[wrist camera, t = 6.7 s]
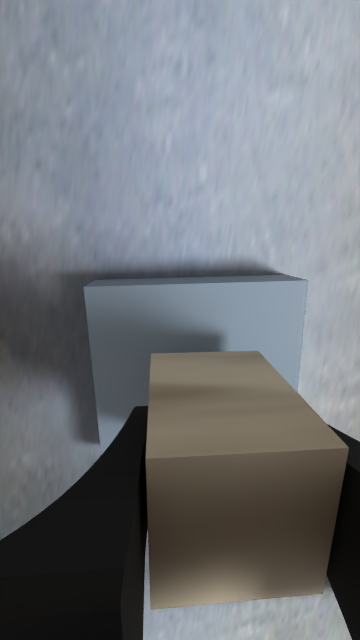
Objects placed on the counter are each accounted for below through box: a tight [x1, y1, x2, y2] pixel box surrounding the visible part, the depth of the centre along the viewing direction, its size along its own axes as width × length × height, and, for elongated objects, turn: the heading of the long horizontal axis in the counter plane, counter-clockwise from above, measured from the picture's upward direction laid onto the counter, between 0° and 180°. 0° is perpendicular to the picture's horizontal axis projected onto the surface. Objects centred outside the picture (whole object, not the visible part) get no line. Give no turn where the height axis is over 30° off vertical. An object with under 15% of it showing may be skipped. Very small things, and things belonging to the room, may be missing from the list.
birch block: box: [146, 351, 349, 610], centre depth 10 cm, size 4×4×6 cm
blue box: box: [84, 274, 308, 455], centre depth 16 cm, size 10×10×3 cm
